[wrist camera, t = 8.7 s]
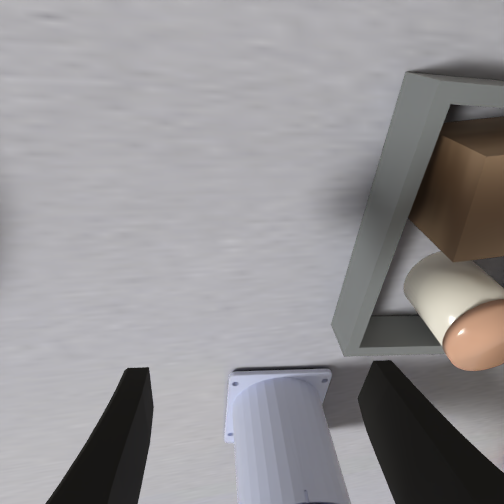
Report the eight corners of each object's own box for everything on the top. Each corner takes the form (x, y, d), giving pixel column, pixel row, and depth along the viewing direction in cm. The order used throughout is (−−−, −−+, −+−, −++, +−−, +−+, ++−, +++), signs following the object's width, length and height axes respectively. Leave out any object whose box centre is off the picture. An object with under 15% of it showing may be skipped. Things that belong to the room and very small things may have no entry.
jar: (454, 306, 25) (510, 370, 20) (392, 305, 24) (435, 371, 19) (486, 250, 22) (558, 308, 18) (417, 247, 21) (473, 307, 17)
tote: (495, 322, 26) (523, 351, 24) (331, 324, 24) (344, 356, 22) (645, 93, 17) (712, 104, 15) (405, 71, 16) (439, 80, 13)
